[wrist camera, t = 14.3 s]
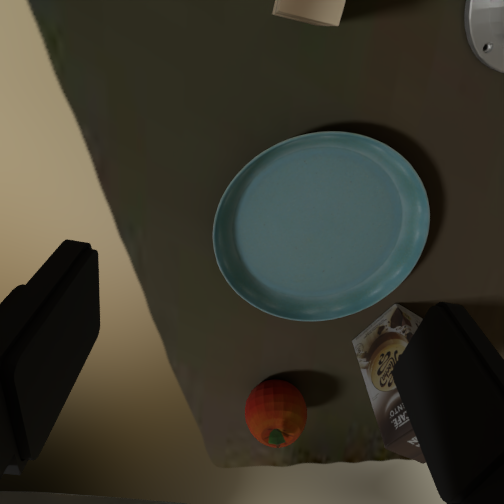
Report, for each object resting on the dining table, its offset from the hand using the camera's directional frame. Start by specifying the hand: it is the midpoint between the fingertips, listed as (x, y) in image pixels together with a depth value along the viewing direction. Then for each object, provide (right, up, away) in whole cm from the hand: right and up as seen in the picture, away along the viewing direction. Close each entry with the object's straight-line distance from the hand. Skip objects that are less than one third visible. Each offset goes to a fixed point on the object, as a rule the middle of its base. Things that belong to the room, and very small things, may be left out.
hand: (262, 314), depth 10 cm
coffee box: (+19, -10, +42) cm, 47 cm away
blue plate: (+7, +5, +33) cm, 35 cm away
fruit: (+3, -21, +49) cm, 53 cm away
